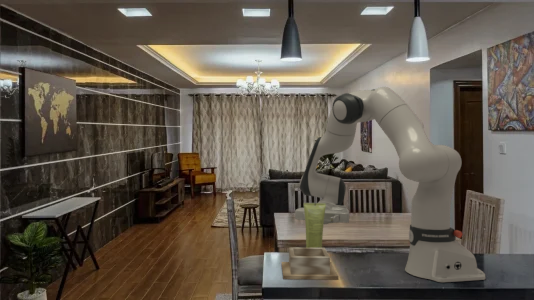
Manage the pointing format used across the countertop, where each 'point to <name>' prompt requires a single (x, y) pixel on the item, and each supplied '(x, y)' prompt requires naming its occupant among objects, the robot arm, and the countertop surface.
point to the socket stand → (308, 264)
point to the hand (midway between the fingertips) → (319, 218)
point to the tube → (314, 224)
